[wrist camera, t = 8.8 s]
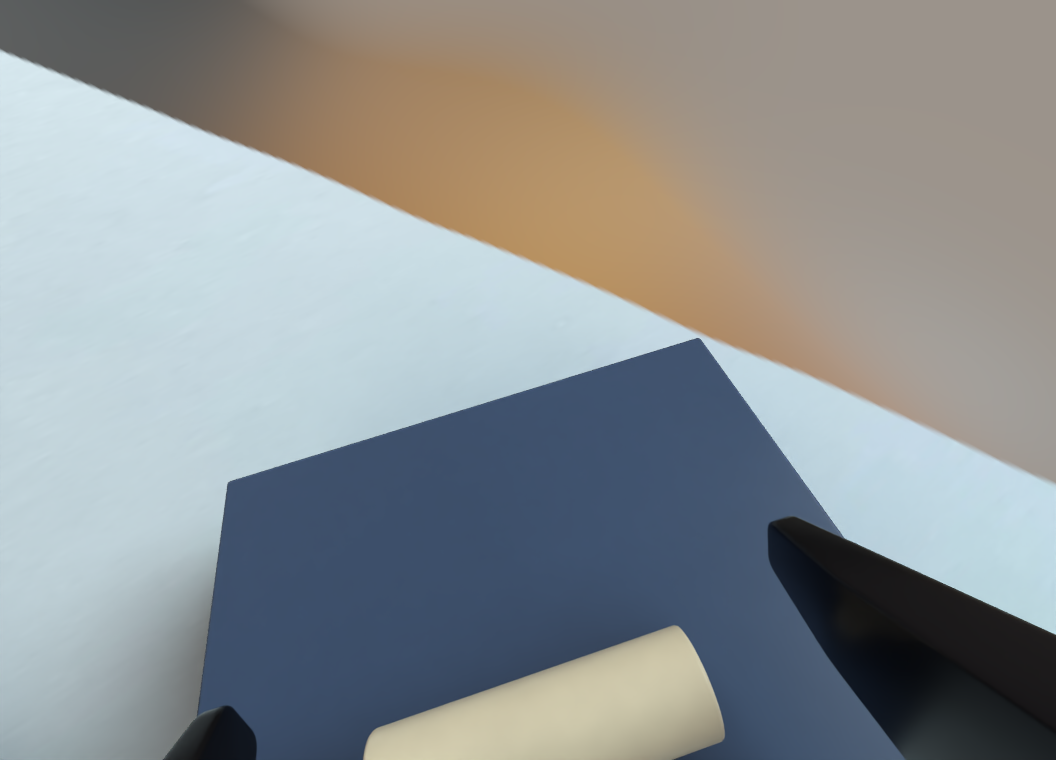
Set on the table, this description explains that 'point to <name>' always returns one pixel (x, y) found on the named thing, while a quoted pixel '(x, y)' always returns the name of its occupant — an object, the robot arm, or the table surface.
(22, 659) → the table surface
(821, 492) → the table surface
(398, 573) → the lunchbox lid
